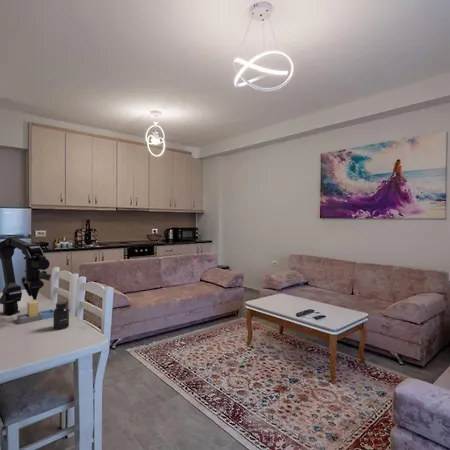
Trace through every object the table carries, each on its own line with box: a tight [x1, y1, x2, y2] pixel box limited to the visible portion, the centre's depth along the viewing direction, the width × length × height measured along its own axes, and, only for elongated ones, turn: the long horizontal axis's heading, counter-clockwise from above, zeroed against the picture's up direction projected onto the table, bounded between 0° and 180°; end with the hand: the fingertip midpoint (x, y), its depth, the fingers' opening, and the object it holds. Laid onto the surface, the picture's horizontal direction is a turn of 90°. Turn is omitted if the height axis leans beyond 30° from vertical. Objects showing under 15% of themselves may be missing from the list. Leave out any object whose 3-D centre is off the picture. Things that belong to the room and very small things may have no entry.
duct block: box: [16, 307, 56, 325], centre depth 166 cm, size 19×8×2 cm, turn 135°
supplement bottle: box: [52, 301, 70, 330], centre depth 152 cm, size 7×7×12 cm
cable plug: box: [26, 300, 39, 317], centre depth 163 cm, size 4×4×9 cm
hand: (32, 297), depth 163 cm, fingers open, 9 cm apart
